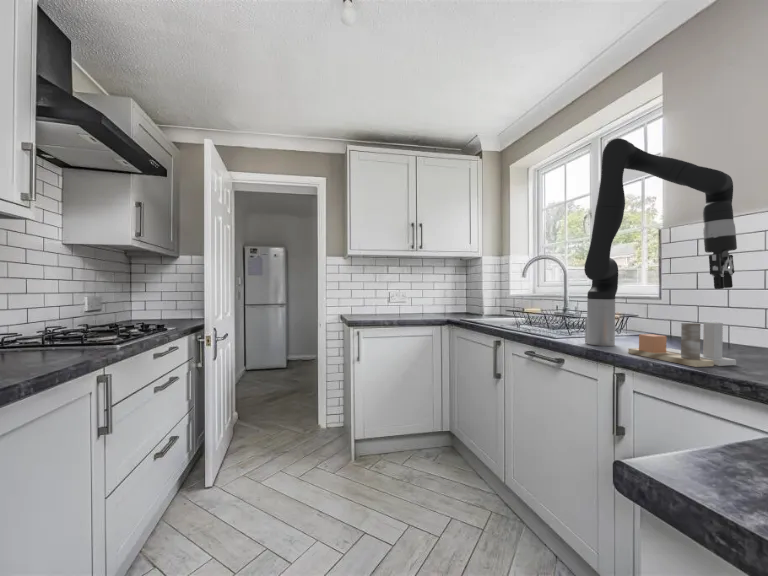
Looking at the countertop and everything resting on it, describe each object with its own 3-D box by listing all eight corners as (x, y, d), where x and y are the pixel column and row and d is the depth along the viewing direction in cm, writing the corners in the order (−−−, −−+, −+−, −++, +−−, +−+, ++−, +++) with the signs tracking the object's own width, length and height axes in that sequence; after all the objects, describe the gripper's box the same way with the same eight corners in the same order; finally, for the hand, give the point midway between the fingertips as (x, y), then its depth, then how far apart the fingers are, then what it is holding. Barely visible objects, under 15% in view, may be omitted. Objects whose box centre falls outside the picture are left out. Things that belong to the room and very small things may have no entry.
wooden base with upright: (628, 353, 127) (628, 317, 126) (643, 352, 128) (643, 317, 128) (696, 367, 105) (696, 324, 105) (713, 366, 106) (714, 324, 106)
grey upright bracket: (648, 352, 128) (648, 317, 128) (663, 351, 130) (663, 317, 130) (719, 365, 107) (719, 324, 107) (736, 365, 108) (736, 323, 108)
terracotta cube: (638, 350, 123) (639, 334, 123) (651, 349, 124) (651, 334, 124) (653, 352, 118) (653, 336, 118) (666, 352, 119) (666, 336, 119)
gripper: (711, 238, 127) (715, 288, 126) (696, 237, 119) (700, 289, 118) (742, 235, 121) (746, 287, 120) (728, 232, 112) (732, 288, 112)
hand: (723, 288), depth 119 cm, fingers open, 8 cm apart
